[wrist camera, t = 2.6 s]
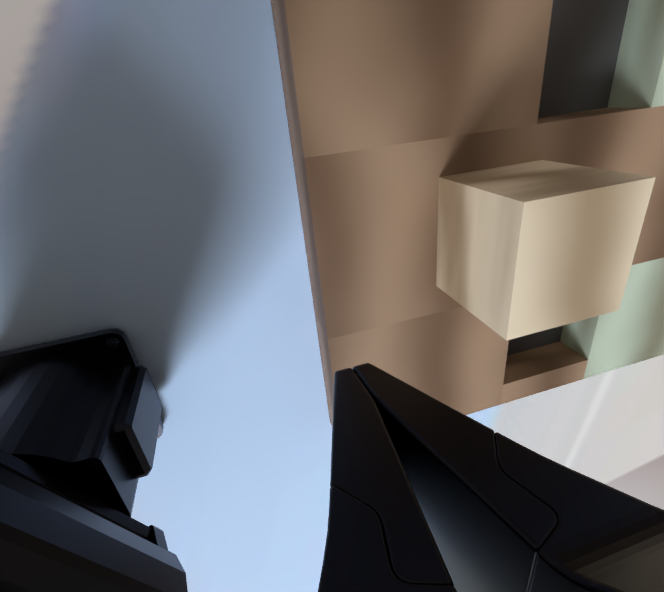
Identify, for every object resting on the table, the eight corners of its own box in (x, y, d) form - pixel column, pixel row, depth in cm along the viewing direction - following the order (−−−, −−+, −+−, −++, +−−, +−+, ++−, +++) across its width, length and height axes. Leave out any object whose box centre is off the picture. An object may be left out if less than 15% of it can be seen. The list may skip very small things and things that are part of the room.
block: (436, 285, 18) (506, 340, 14) (438, 177, 16) (524, 202, 12) (527, 265, 19) (619, 310, 15) (542, 159, 17) (655, 177, 13)
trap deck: (330, 421, 23) (342, 452, 21) (258, -86, 13) (268, -125, 11) (656, 327, 28) (693, 345, 26) (797, -95, 18) (878, -123, 16)
